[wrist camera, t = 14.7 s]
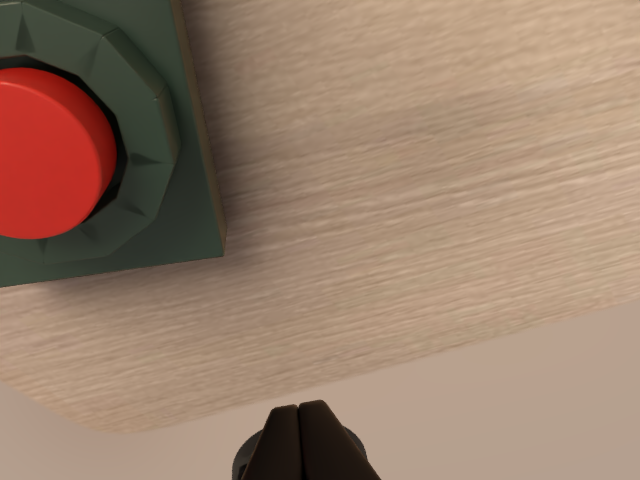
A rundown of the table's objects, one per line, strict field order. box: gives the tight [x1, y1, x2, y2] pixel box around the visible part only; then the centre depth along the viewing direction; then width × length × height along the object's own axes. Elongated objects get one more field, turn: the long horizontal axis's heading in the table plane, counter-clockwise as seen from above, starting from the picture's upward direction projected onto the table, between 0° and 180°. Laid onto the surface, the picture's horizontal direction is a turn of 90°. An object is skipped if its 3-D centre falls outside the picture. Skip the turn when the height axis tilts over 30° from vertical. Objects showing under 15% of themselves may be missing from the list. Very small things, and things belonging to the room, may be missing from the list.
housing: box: [0, 0, 227, 288], centre depth 15 cm, size 10×8×4 cm
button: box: [0, 67, 117, 239], centre depth 13 cm, size 4×4×2 cm
